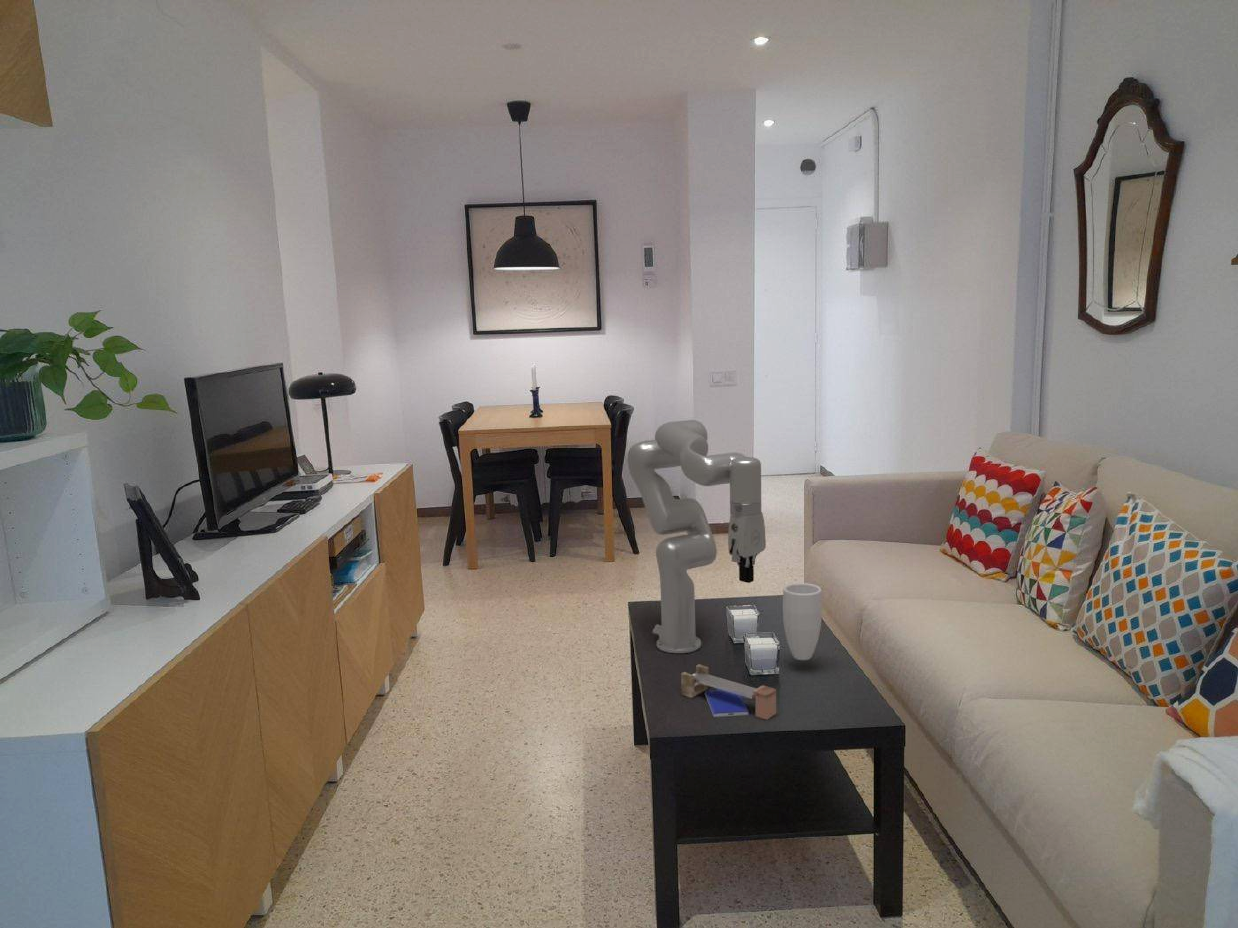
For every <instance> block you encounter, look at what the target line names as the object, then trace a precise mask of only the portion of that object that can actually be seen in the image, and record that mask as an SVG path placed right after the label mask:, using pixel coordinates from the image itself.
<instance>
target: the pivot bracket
mask: <svg viewBox="0 0 1238 928" xmlns="http://www.w3.org/2000/svg"><path fill="white" fill-rule="evenodd" d="M709 670H710V668H709V666H706V665H703V664H700V663H699V664H697V665H696V666H695V673H696V672H698V671H701V672H702V673H705V674H709V675H710V671H709ZM692 674H693V673H692ZM692 674H691V673H689V672H686V671H684V672H682V673H680V679H681V681H680V682H681V685H680V686H681V695H682V696H685V697H688V698H691V699H692V698H694V697H695V696H697V695H699V694H701V693H703V692H705V691H706V690H709V688H710V686H707V685H704V684H701V683H698V682H694V675H692Z"/></svg>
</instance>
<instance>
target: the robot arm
mask: <svg viewBox="0 0 1238 928" xmlns="http://www.w3.org/2000/svg"><path fill="white" fill-rule="evenodd" d="M708 453H709V443H708V431H707V429H706V427H705V425H704V424H703V423H702V422H700V421H698V420H696V419H689V420H687V419H686V420H679V421H678V420H677V421H669V422H666V423H663V424H662V425H660V426H659V427H657V429H656V430H655V434H654V439H647V440H643V441H638V442H636V443H634V444H632V446H630V448H629V449H628V451H627V468H628V471H629V474H630V477H631V479H632V480H633V483H634V485H635V486H636V488H637V489H638V491H639V493H640V495H641V499H642V503H643V504H644V508H645V511H646V515H647V517H648V519H649V523H650V525H651V528H652V530H653V532H654V533H656V534H658V536H659V535H660V536H666V535H673V534H679V533H685V532H686V533H687V534H683V535H676V536H672V537H669V538H668V537H667V538H665V539H663V540H661V541H660V542H658V544H657V546H656V550H655V558H656V563H657V567H658V573H659V583H660V585H659V586H660V612H661V613H660V614H661V616H660V617H661V618H660V619H661V621H660V622H661V625H660V624H657V623H656V624H655V626H654V628H653V630H652V634H655V635H657V636H658V639H657V640H656V647H657V648H658V649H659V650H660V651H662V652H665V653H670V654H686V653H693V652H695V651H697V650H698V649H700V648H701V646H702V641H701V639H700V638H699V637H697V636H696V608H695V607H696V602H695V601H696V595H695V583H694V582H693V579H692V578H691V577H690V575H689V574H688V572H687V571H688V570H691V569H695V568H701V567H705V566H708V565H712V564H713V563H714V562H715V561H716V558H717V553H718V551H717V544H716V542H715V539H714V535H713V533H712V529H711V527H710V524H709V520H708V518H707V515H706V512H705V510H704V508H703V506H702V505H701V504H700V502H699V501H698V500H697V499H694V498H691V497H685V498H676V497H674V495H673V493H672V490H671V488H670V485H669V483H668V482H667V480H666V479H665V478H664V477H663V476H662V475H660V474H659V473H657V472H656V470H660V469H668V468H669V469H670V468H676V467H680V468H681V470H682V472H683V474H684V476H685V477H686V478H687V479H689V480H690V481H692V482H693V483H695V484H697V485H700V486H703V487H712V486H713V487H714V486H719V485H727V484H729V511H730V512H729V515H730V517H729V521H728V537H727V539H728V540H727V546H728V548H727V549H728V554H729V555H730V556H731V562H733V563H736V564H737V566H738V574H739V575H738V578H739V579H738V580H739V582H741V583H742V582H743V583H746V584H751V583H752V582H754V580H755V577H754V574H755V572H754V571H755V570H754V569H755V568H754V566H755V564H756V558H757V556H758V555H760V554H761V552H764V551H765V549H766V547H767V546H766V545H767V544H766V543H767V539H766V525H765V520H764V518H765V517H764V513H763V511H762V463H761V461H760V459H759V458H757V457H753V456H746V455H744V454H742V453H740V452H728V453H727V452H726V453H719V454H709V455H708Z"/></svg>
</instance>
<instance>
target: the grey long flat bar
mask: <svg viewBox="0 0 1238 928" xmlns="http://www.w3.org/2000/svg"><path fill="white" fill-rule="evenodd" d="M692 675H694V683H696V682H698V683H701V684H704V685H707V686H709V687H712V688H715V689H716V690H718V689H721V690H724V691H727V692H731V693H734V694H737V695H740V696H741V697H744V698H747V699H751V700H753V699H754V698H755V695H753V691H754V690H756V689H757V688H756V687H752V686H749V685H746V684H742V683H739V682H736V681H732V680H729V679H725V678H722V677H718V676H715V675H711V674H710V673H709V674H705V673H702V672H701V671H698V672H696V671H695V672H694V673H692Z"/></svg>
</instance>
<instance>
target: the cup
mask: <svg viewBox="0 0 1238 928" xmlns="http://www.w3.org/2000/svg"><path fill="white" fill-rule="evenodd" d="M782 591H783V592H782V617H783V618H782V620H783V627H784V628H783V629H784V632H785V638H786V642H787V645H788V647H789V650H790V652H791V655H792V657H793V658H794V659H796V660H799V661H808V660H810V659H811V658H812V657H813V655H814V652H815V650H816V647H817V645H818V641H819V636H820V632H821V628H822V612H823V605H822V603H823V602H822V601H823V600H822V599H823V598H822V588H821V587H820V586H818V585H816V584H813V583H808V582H794V583H790V584H785V586H783V588H782Z"/></svg>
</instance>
